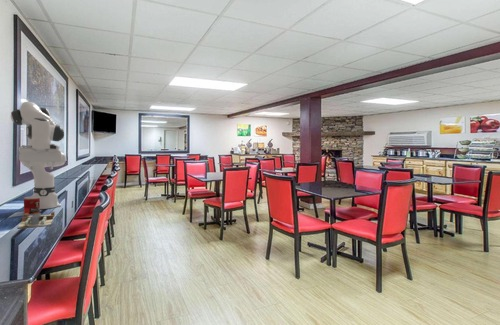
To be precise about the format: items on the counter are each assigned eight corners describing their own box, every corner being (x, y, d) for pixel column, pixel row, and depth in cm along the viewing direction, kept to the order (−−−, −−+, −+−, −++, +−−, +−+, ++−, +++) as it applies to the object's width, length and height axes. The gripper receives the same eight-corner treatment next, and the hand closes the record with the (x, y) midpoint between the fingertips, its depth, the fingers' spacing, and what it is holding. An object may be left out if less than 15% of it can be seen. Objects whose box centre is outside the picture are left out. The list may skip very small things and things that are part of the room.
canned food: (31, 216, 166) (31, 198, 166) (20, 215, 168) (20, 197, 167) (43, 213, 174) (43, 196, 173) (32, 212, 175) (32, 195, 175)
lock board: (26, 218, 162) (26, 212, 162) (55, 216, 170) (55, 210, 169) (17, 229, 142) (17, 222, 142) (50, 226, 149) (50, 219, 149)
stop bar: (38, 224, 147) (38, 217, 147) (31, 225, 146) (31, 217, 145) (41, 220, 156) (41, 212, 156) (34, 220, 154) (34, 213, 154)
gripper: (17, 145, 154) (17, 169, 154) (61, 146, 164) (61, 169, 165) (19, 145, 159) (19, 169, 160) (62, 146, 170) (62, 168, 170)
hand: (41, 169), depth 162 cm, fingers open, 8 cm apart
